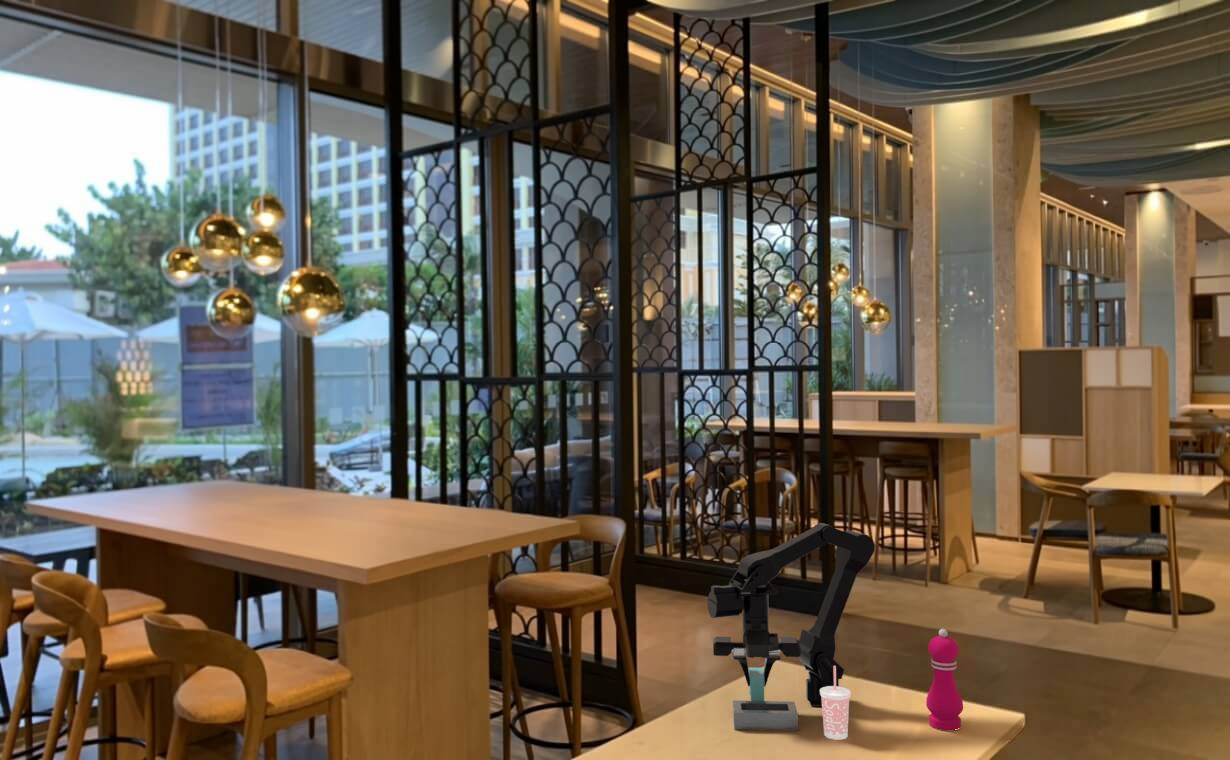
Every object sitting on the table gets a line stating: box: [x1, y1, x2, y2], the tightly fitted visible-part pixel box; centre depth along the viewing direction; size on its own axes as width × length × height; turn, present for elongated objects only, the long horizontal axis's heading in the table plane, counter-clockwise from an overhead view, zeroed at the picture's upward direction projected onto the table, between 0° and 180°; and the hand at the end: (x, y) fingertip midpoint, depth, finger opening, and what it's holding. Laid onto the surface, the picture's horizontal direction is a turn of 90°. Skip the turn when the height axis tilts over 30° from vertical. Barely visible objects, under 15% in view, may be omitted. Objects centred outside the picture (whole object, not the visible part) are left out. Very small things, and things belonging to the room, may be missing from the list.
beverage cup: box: [820, 666, 851, 741], centre depth 184 cm, size 6×6×14 cm
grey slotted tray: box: [732, 700, 799, 732], centre depth 191 cm, size 13×7×4 cm, turn 84°
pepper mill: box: [925, 628, 964, 731], centre depth 188 cm, size 7×7×20 cm
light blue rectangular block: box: [748, 667, 766, 701], centre depth 199 cm, size 7×3×6 cm, turn 175°
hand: (756, 685), depth 199 cm, fingers closed on light blue rectangular block, 3 cm apart
